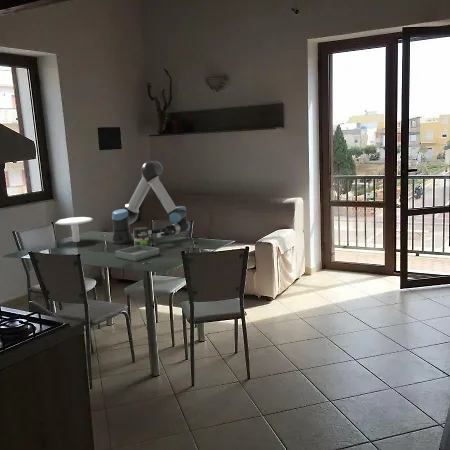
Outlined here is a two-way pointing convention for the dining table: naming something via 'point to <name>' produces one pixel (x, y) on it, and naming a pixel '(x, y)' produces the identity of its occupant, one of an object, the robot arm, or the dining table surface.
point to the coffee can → (141, 236)
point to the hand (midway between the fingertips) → (150, 234)
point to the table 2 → (74, 225)
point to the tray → (137, 252)
